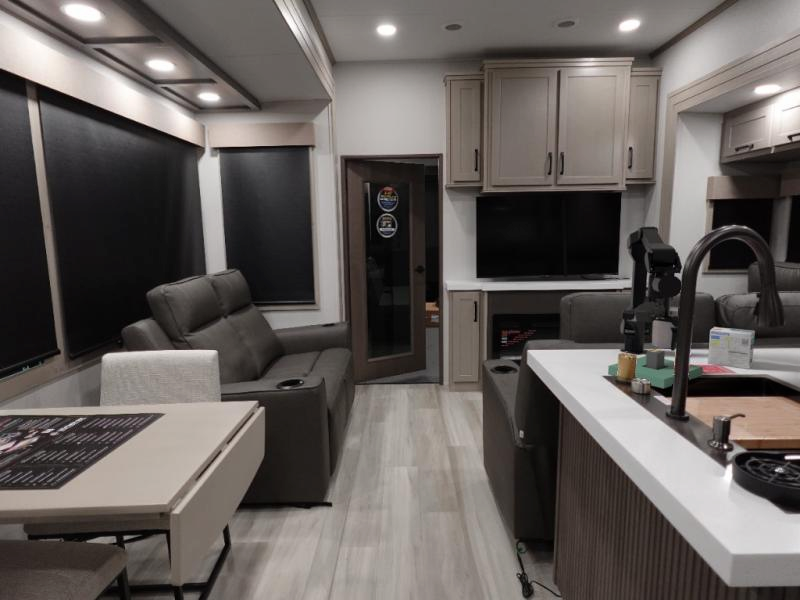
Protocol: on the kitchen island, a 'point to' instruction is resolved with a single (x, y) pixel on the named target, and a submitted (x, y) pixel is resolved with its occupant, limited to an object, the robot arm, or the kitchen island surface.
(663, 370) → the socket board
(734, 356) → the light bulb box
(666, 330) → the pillar candle
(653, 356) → the plug block
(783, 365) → the kitchen island surface
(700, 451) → the kitchen island surface
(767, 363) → the kitchen island surface
